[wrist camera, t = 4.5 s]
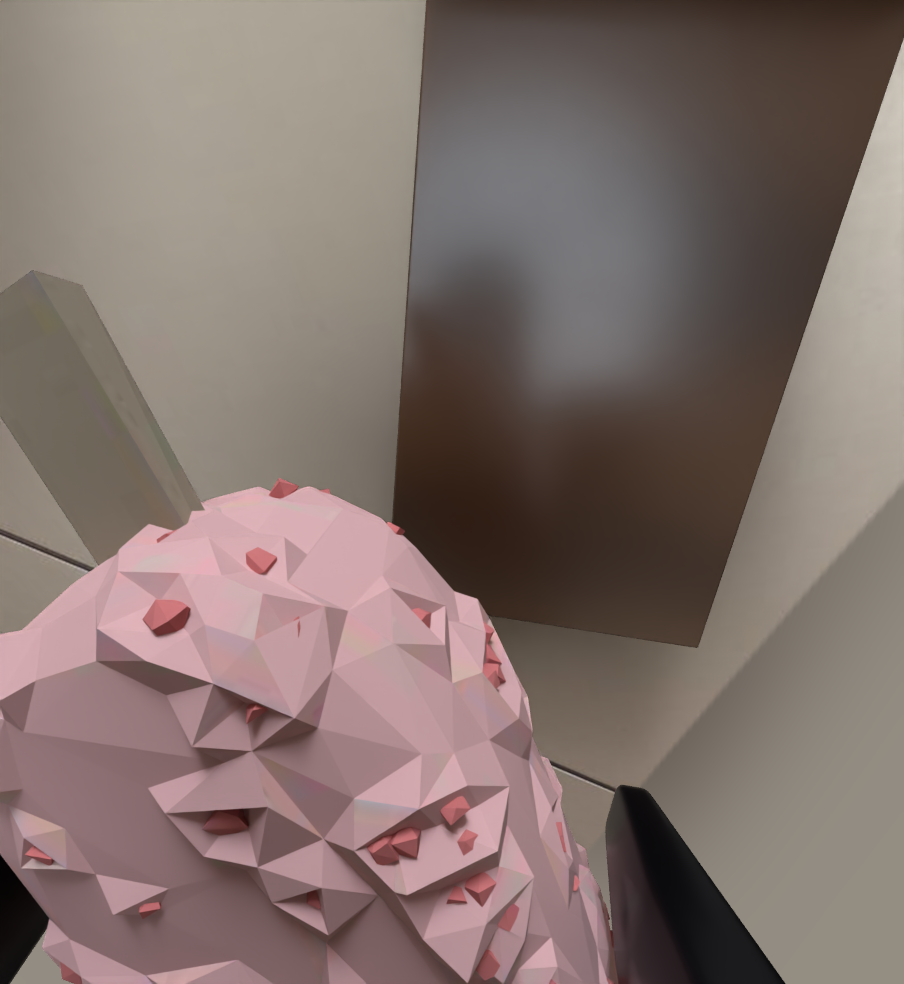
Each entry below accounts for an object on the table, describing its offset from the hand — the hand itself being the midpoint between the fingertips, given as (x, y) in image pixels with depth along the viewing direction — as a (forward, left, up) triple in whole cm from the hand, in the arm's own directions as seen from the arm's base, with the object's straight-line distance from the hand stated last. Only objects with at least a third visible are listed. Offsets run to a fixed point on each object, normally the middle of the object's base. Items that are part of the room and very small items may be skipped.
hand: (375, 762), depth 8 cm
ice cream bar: (0, 0, -1) cm, 1 cm away
